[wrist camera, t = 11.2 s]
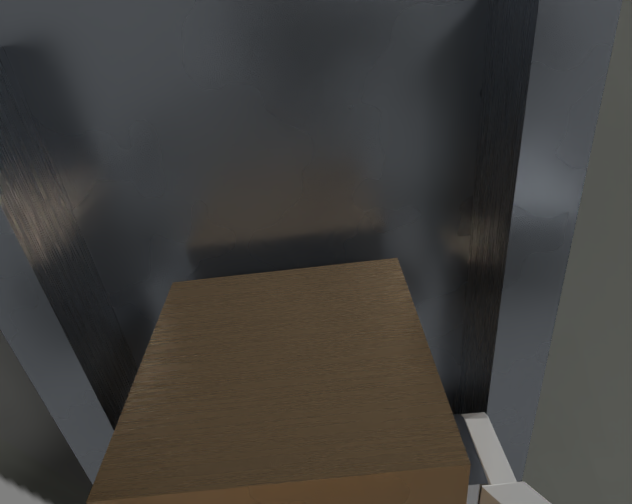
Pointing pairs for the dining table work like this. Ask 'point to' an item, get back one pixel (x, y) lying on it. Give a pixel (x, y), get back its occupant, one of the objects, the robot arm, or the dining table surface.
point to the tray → (292, 176)
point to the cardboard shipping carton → (287, 397)
